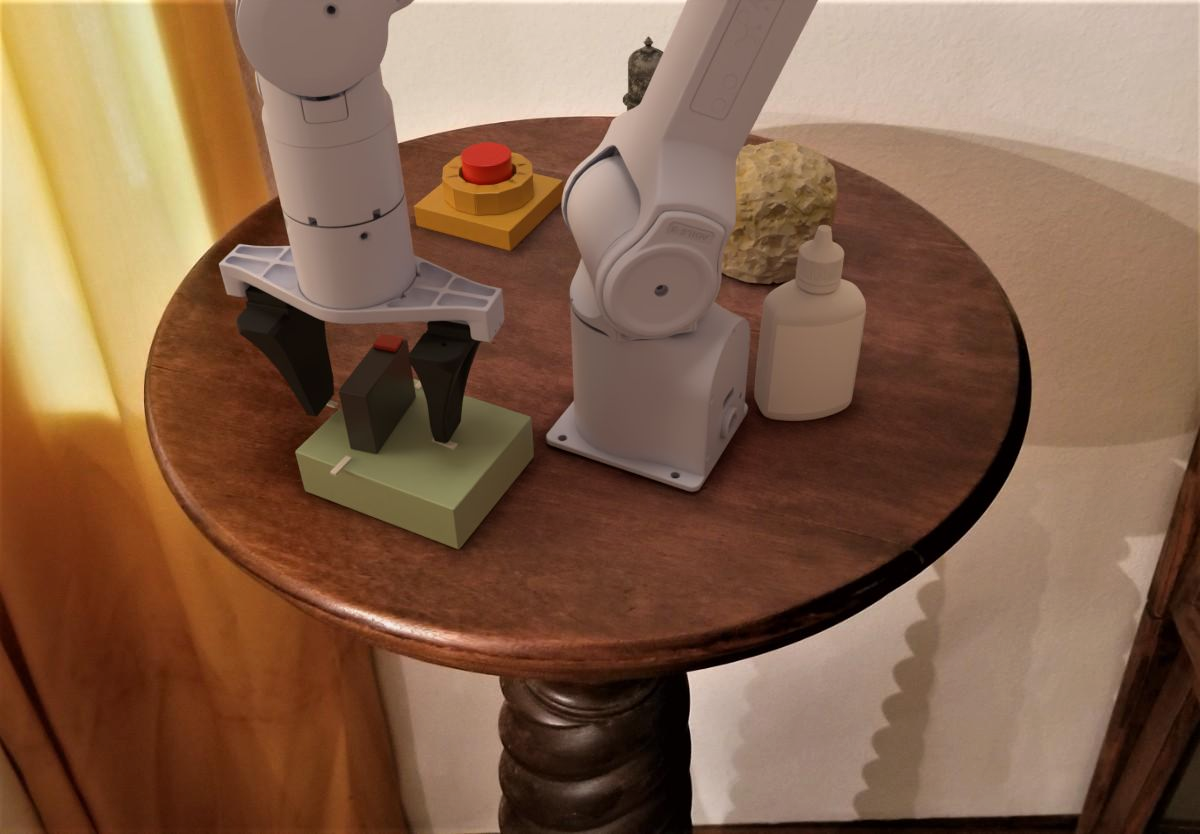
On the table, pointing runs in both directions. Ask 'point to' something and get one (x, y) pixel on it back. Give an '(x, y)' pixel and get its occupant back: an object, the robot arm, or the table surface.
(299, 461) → the panel
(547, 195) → the button box
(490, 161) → the button
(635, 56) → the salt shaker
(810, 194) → the coral
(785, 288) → the eye dropper bottle
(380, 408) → the knob
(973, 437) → the table surface
